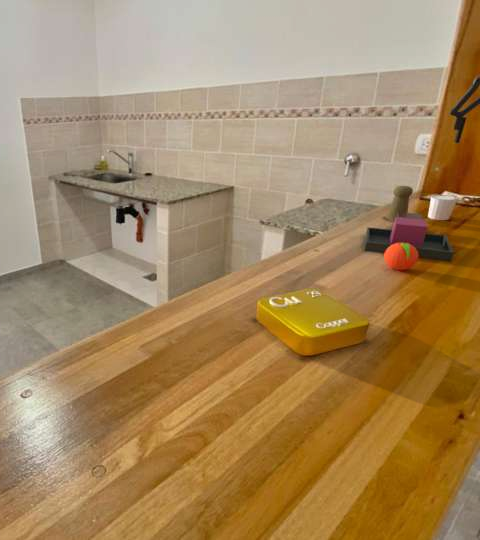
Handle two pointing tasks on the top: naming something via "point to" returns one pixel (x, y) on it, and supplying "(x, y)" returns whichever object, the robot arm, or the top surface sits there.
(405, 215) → the walnut block
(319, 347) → the element tile
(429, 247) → the tray
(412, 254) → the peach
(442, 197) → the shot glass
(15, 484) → the top surface
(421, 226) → the mulberry cube
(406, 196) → the cork
